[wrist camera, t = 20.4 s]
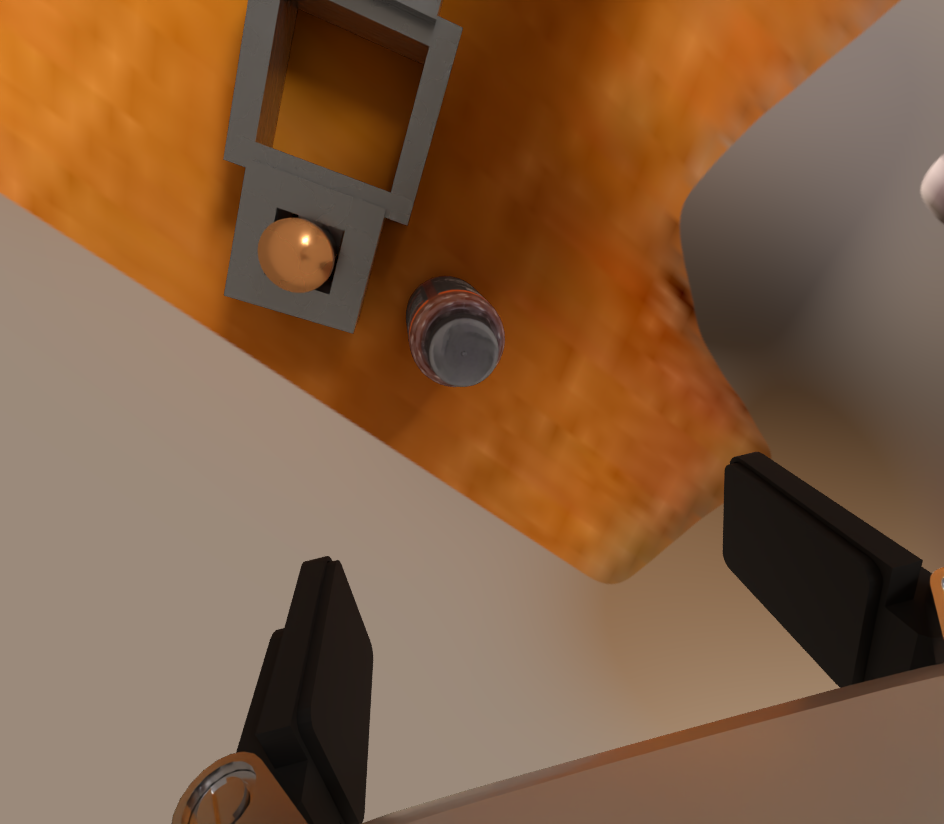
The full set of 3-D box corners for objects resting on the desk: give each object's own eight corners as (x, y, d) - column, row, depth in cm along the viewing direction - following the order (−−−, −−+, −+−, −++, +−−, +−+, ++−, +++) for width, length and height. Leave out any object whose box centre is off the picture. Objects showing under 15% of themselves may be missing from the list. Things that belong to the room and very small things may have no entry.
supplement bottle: (409, 355, 38) (413, 408, 28) (401, 277, 36) (403, 303, 26) (484, 349, 39) (516, 399, 29) (481, 271, 37) (514, 295, 26)
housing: (305, -200, 26) (285, -287, 21) (495, -94, 29) (513, -152, 24) (224, 277, 34) (197, 287, 30) (378, 324, 37) (375, 340, 32)
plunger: (290, 207, 32) (265, 207, 26) (350, 228, 33) (339, 232, 27) (277, 267, 33) (251, 279, 27) (336, 286, 34) (323, 301, 28)
